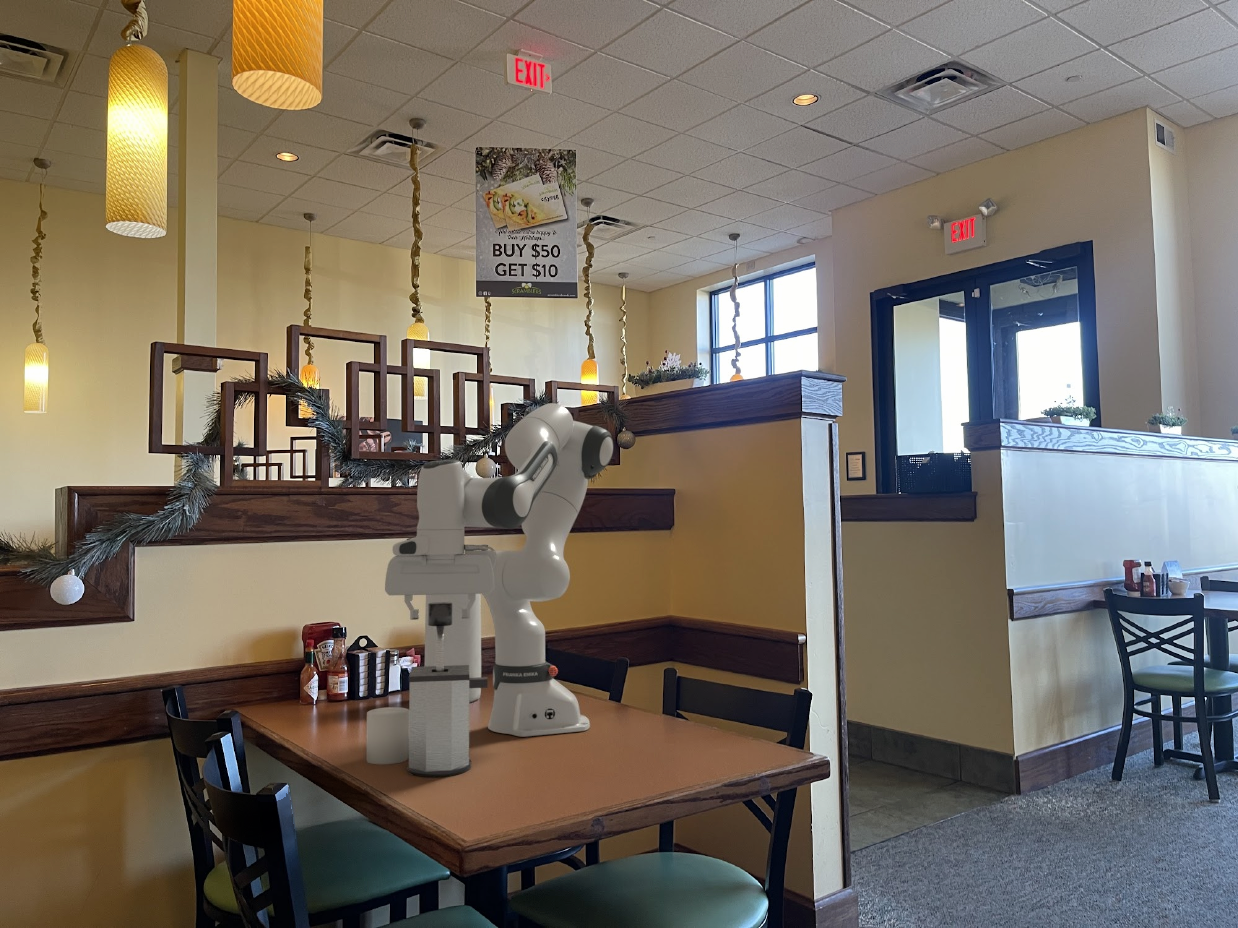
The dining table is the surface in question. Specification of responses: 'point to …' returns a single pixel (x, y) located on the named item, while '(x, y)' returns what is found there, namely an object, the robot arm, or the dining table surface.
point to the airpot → (440, 720)
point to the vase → (457, 637)
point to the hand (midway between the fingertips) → (440, 618)
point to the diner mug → (387, 735)
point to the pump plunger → (440, 627)
